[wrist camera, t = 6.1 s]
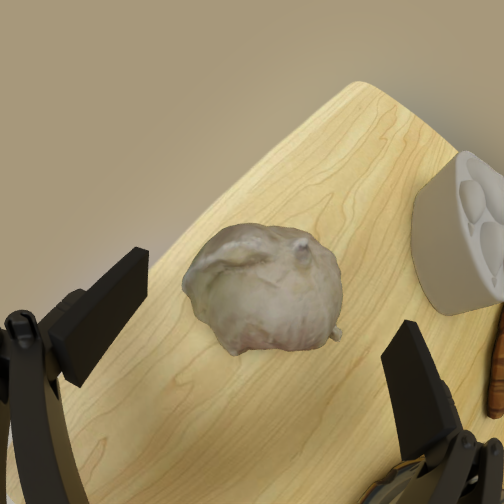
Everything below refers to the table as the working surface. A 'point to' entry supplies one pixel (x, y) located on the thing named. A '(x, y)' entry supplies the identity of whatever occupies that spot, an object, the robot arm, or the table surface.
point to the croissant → (497, 376)
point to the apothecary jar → (396, 485)
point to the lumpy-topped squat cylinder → (460, 236)
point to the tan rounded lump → (266, 289)
